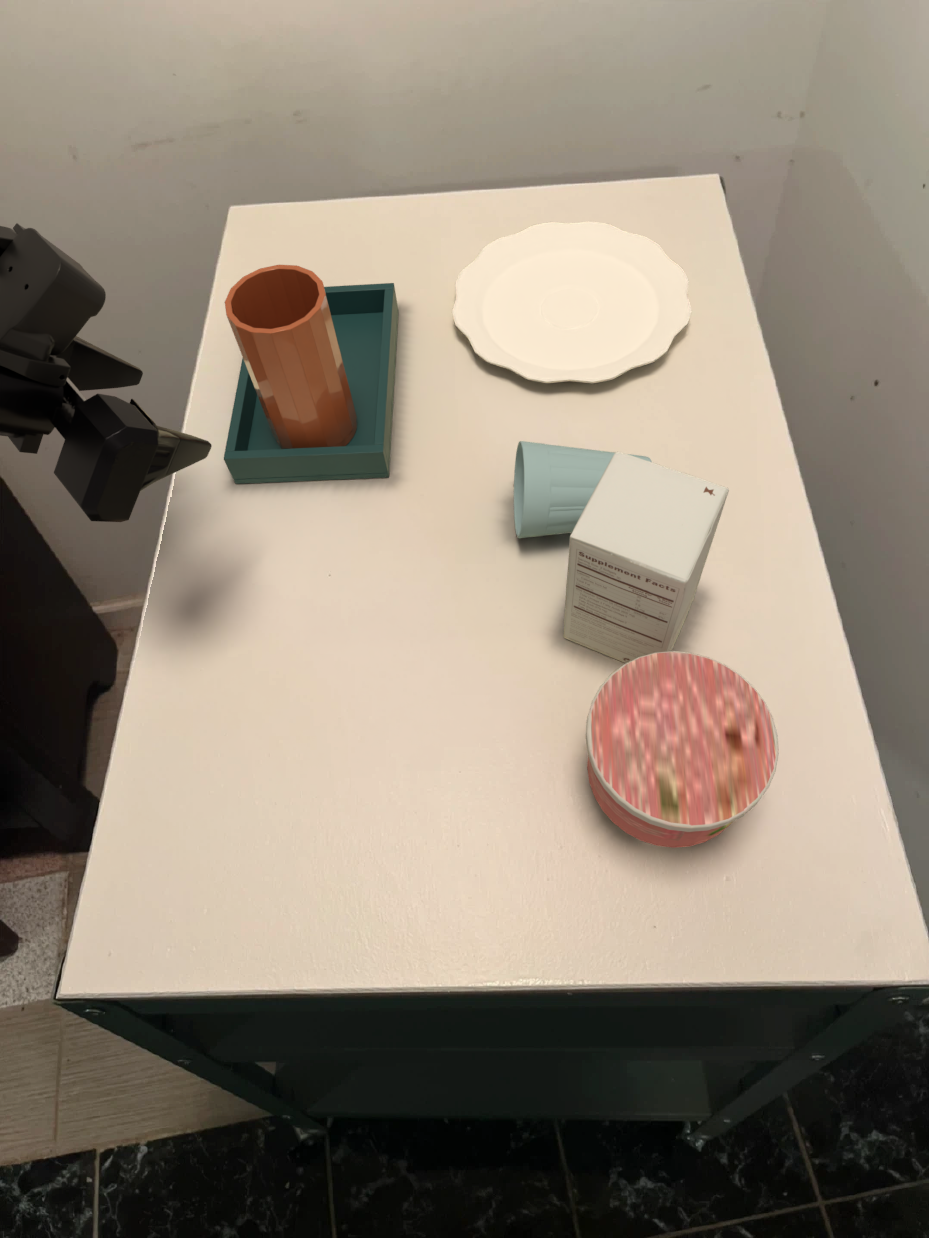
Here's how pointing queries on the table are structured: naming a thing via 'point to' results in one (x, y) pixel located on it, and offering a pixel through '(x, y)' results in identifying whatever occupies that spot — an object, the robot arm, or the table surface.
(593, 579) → the white packaging box
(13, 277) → the robot arm
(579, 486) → the cup
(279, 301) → the tumbler
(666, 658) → the container
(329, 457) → the tray
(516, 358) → the plate
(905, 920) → the table surface
